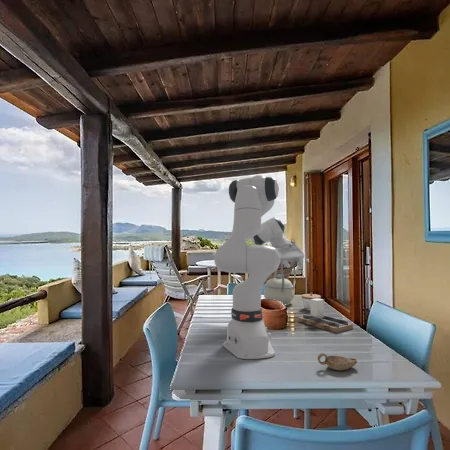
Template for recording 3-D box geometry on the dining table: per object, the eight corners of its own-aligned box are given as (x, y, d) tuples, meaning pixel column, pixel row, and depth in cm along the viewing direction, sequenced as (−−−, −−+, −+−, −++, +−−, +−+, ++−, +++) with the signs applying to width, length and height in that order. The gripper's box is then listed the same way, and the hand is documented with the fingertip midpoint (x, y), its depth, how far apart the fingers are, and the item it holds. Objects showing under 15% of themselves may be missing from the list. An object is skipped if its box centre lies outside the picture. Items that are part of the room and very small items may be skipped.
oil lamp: (352, 364, 118) (352, 349, 118) (362, 373, 110) (362, 357, 110) (314, 364, 117) (314, 349, 117) (321, 373, 110) (321, 357, 110)
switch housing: (298, 321, 170) (298, 314, 170) (314, 318, 177) (314, 311, 177) (336, 332, 152) (336, 324, 152) (352, 328, 159) (352, 320, 159)
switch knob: (310, 317, 168) (310, 299, 168) (317, 316, 171) (317, 298, 171) (317, 319, 165) (317, 300, 165) (323, 317, 168) (323, 299, 168)
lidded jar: (303, 306, 203) (303, 290, 203) (322, 308, 199) (322, 291, 199) (299, 310, 193) (299, 293, 193) (319, 312, 189) (319, 295, 189)
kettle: (298, 307, 201) (298, 264, 201) (267, 307, 200) (267, 264, 200) (287, 298, 226) (288, 260, 226) (260, 298, 225) (260, 260, 225)
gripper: (270, 243, 180) (284, 264, 172) (298, 242, 192) (311, 261, 184) (264, 251, 183) (277, 272, 175) (292, 249, 195) (305, 269, 187)
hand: (295, 266), depth 180 cm, fingers open, 8 cm apart
